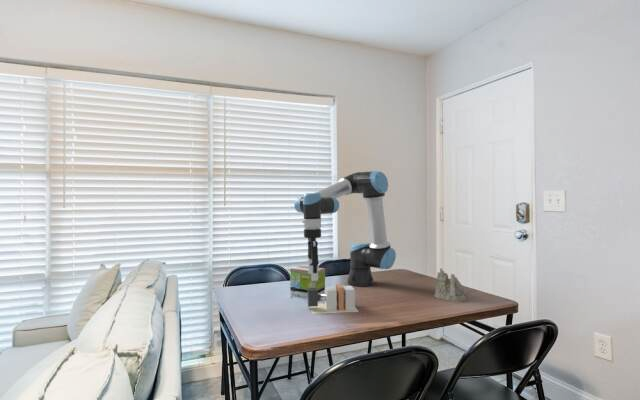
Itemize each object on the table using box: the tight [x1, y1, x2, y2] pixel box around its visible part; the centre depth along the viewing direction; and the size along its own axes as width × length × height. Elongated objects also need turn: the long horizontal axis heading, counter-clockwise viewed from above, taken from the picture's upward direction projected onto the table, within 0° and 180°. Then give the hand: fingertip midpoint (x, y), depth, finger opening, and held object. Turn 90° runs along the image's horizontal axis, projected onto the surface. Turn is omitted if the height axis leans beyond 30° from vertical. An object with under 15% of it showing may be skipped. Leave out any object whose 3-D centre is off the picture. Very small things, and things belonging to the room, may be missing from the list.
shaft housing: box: [309, 285, 359, 315], centre depth 156 cm, size 20×14×10 cm
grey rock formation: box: [433, 268, 467, 303], centre depth 179 cm, size 16×16×15 cm
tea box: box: [289, 265, 326, 298], centre depth 178 cm, size 15×10×15 cm, turn 62°
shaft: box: [307, 288, 345, 308], centre depth 156 cm, size 18×4×7 cm, turn 97°
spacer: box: [335, 283, 344, 310], centre depth 157 cm, size 2×8×10 cm, turn 7°
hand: (313, 276), depth 155 cm, fingers open, 13 cm apart
